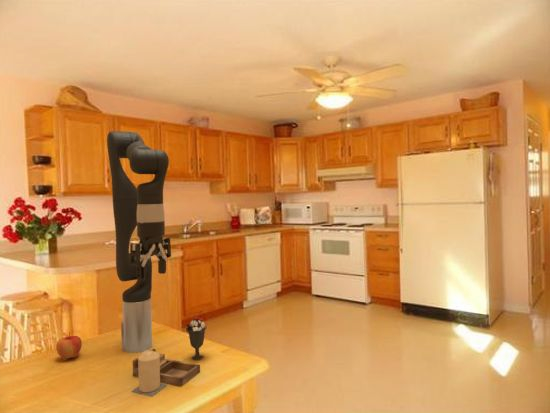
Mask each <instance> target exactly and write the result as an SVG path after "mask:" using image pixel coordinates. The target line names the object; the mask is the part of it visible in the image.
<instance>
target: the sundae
mask: <svg viewBox="0 0 550 413" xmlns="http://www.w3.org/2000/svg"><path fill="white" fill-rule="evenodd" d="M202 313H203V311H202V310H200V311H199V313H198V315H197V316H195V317H194V318H193V319H192V320H191V321H190V323H187V324H186V326H187V327H186V328H185V330H186V333H188V337H189V342H190V347H192V348H193V349H195V353H194V355H193V356H192V357H191V358H190V360H192V361H201V360H203V359H204V355H201V354H200V348H201V347H202V346H203V345H204V342H205V333H206V329H207V328H208V326H206V324H205V322H204V321H203V318H202V316H201V315H202ZM199 316H200V318H199Z"/></svg>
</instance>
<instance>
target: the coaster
mask: <svg viewBox="0 0 550 413" xmlns="http://www.w3.org/2000/svg"><path fill="white" fill-rule="evenodd" d="M167 386H168V384H167V383H162V382H160V387H159V388H158V389H157V390H155V391H152V392H141V391H140V390H139V385H138V386H137V387H135V388H134V389H132V390H131V391H130V392H131V393H136V394H138V395H139V394H140V395H144V396H148V397H154V396H156V395H157V394H158V393H159V392H161V391H163V389H165V388H166V387H167Z"/></svg>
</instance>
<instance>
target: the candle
mask: <svg viewBox="0 0 550 413" xmlns="http://www.w3.org/2000/svg"><path fill="white" fill-rule="evenodd" d="M159 354H160V353H158V352H157V351H156V352H155V351H152V349H149V350H145V351H143V352H141V354H140V355H139V356H138V357H137V358H138V371H139V377H138V386H139V390H140V391H141V392H152V391H155V390H157V389H158V388H159V387H160V383H161V382H160V355H159Z"/></svg>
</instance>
